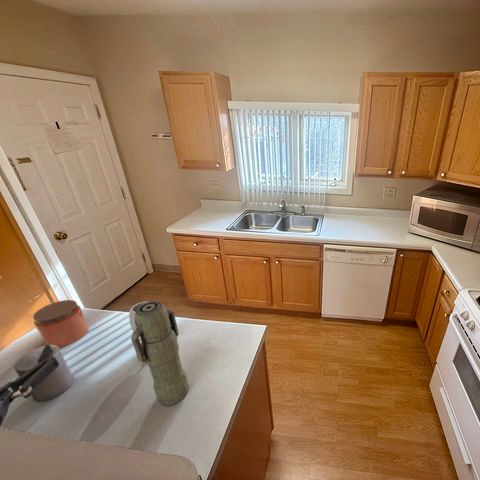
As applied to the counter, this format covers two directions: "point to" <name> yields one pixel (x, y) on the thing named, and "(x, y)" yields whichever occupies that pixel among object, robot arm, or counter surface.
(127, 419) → the counter surface
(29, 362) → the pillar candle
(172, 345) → the thermos
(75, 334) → the jar
